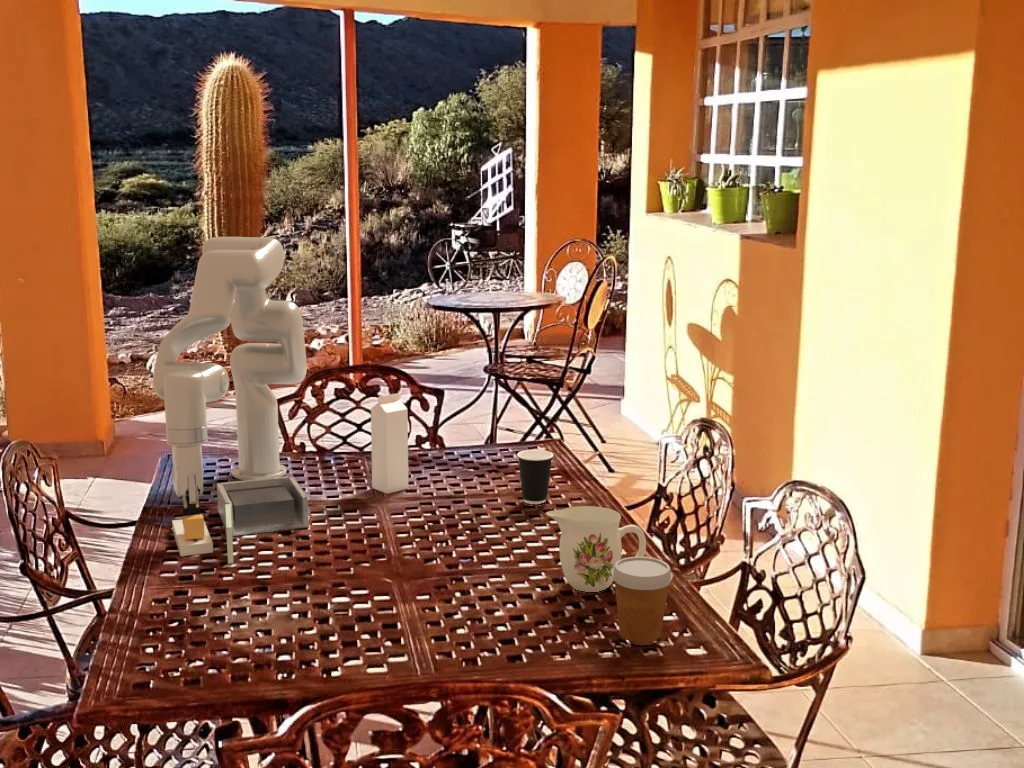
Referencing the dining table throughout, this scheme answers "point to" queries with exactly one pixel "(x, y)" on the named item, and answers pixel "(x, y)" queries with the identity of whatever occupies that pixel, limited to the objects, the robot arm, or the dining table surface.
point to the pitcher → (591, 545)
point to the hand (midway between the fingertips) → (191, 525)
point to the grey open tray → (264, 505)
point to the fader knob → (193, 527)
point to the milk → (389, 444)
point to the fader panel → (191, 541)
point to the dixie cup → (534, 475)
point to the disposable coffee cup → (641, 596)
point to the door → (229, 530)
